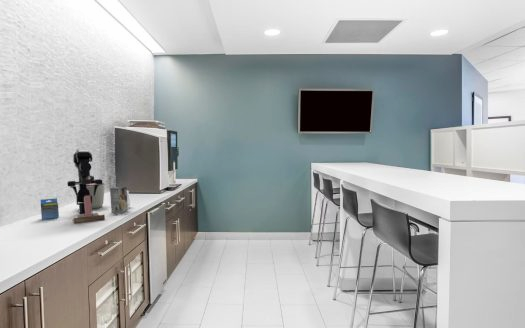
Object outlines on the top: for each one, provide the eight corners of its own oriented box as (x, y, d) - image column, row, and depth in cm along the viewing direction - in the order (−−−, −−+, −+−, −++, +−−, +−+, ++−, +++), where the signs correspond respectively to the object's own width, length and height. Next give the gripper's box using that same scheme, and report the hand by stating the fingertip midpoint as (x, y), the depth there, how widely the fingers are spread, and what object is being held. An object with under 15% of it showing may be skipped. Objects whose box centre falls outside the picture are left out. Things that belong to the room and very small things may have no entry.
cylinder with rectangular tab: (132, 206, 242) (132, 190, 241) (123, 209, 233) (123, 191, 232) (122, 206, 244) (122, 189, 244) (113, 208, 236) (112, 191, 235)
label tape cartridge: (59, 216, 211) (58, 197, 210) (58, 218, 208) (57, 198, 207) (42, 218, 207) (41, 198, 207) (41, 219, 204) (40, 199, 203)
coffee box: (119, 210, 229) (118, 186, 228) (128, 210, 227) (126, 186, 226) (110, 213, 220) (109, 188, 219) (119, 213, 218) (118, 188, 217)
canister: (106, 204, 254) (105, 176, 253) (106, 208, 237) (105, 178, 236) (79, 207, 246) (77, 178, 245) (77, 211, 230) (76, 180, 229)
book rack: (72, 220, 199) (72, 214, 199) (102, 216, 208) (101, 211, 208) (73, 223, 190) (73, 218, 190) (104, 219, 198) (104, 214, 198)
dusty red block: (85, 218, 199) (83, 198, 202) (91, 218, 200) (89, 198, 204) (86, 216, 194) (84, 195, 197) (92, 215, 196) (90, 195, 199)
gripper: (67, 172, 193) (69, 199, 194) (103, 171, 203) (104, 196, 204) (66, 172, 203) (68, 197, 204) (100, 170, 213) (101, 194, 214)
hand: (85, 196), depth 206 cm, fingers open, 9 cm apart
